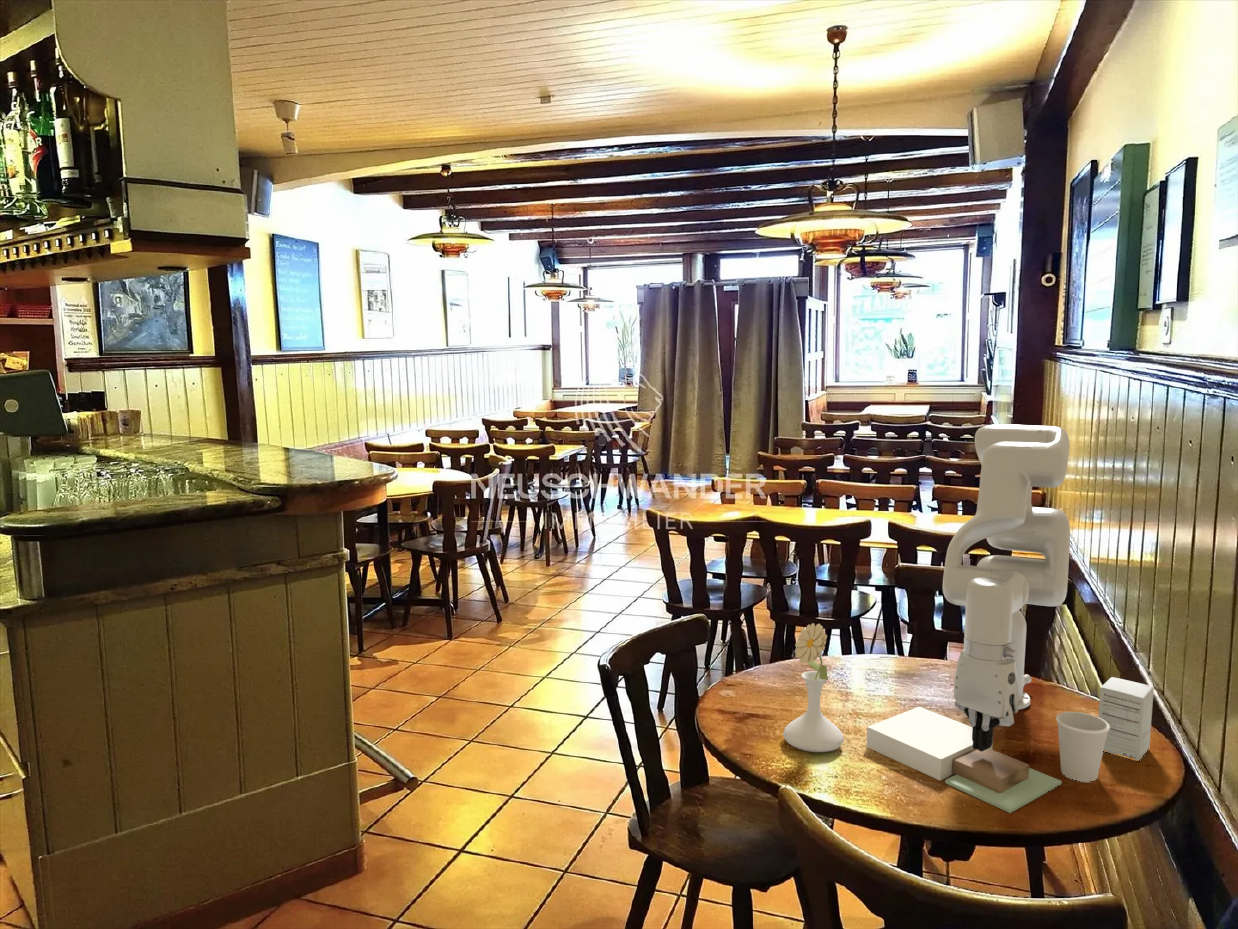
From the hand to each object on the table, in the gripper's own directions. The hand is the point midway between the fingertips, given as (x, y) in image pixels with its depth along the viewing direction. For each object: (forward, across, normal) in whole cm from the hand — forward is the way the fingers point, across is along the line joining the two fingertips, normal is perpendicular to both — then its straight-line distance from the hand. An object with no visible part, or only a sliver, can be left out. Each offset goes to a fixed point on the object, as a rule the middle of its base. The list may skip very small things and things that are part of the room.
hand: (981, 747), depth 151 cm
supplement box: (+5, -10, -30) cm, 32 cm away
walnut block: (+4, -2, 0) cm, 5 cm away
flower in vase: (+5, +25, +16) cm, 30 cm away
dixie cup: (+5, -10, -14) cm, 18 cm away
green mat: (+5, -4, 0) cm, 7 cm away
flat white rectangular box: (+5, +11, 0) cm, 12 cm away
